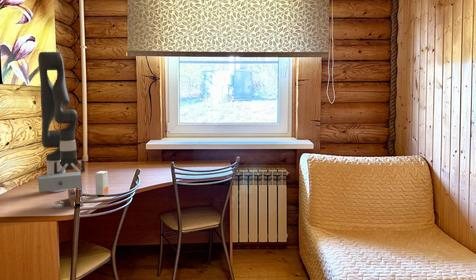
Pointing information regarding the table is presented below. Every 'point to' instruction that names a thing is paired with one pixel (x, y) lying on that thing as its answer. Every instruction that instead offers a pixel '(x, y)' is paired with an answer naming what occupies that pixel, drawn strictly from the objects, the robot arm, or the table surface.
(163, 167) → the table surface
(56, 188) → the low cabinet
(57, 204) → the silver rounded piece
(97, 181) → the skincare box
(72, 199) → the copper bar
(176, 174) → the table surface
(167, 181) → the table surface
